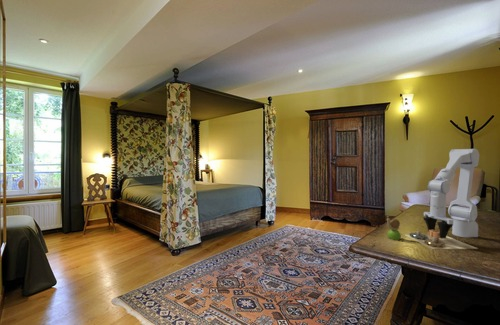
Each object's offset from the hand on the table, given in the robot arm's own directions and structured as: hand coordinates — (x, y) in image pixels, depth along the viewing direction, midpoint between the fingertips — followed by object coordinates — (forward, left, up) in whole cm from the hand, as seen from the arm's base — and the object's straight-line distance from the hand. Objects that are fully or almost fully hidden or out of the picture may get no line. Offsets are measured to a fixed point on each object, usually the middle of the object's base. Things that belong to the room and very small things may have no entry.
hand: (437, 235), depth 110 cm
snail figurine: (+19, -3, -4) cm, 19 cm away
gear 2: (+5, +5, -3) cm, 7 cm away
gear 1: (+5, -5, -3) cm, 7 cm away
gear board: (0, 0, -4) cm, 4 cm away
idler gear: (0, 0, -1) cm, 1 cm away
